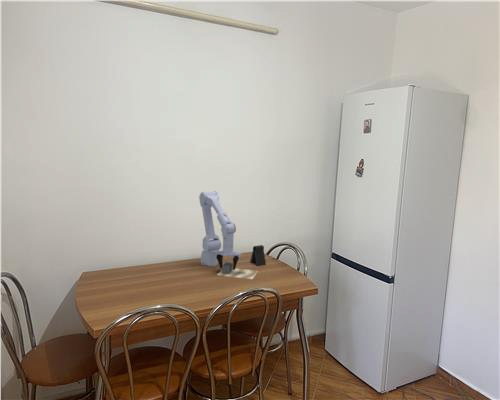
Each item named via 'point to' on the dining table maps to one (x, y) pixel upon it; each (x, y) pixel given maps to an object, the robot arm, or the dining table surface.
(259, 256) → the door stopper
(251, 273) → the board
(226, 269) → the block
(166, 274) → the dining table surface
